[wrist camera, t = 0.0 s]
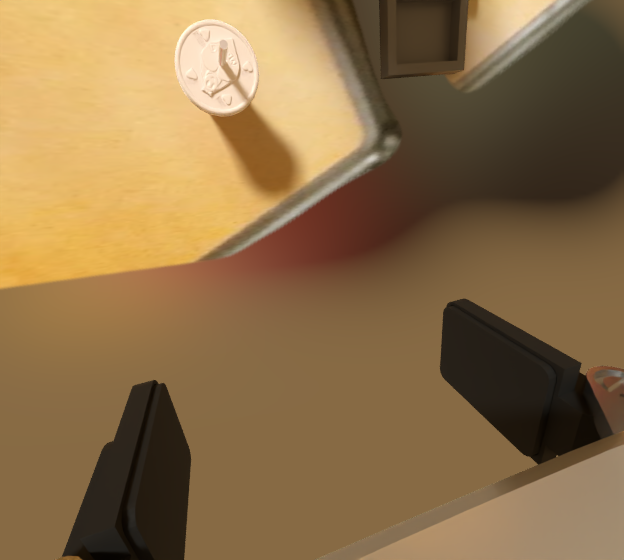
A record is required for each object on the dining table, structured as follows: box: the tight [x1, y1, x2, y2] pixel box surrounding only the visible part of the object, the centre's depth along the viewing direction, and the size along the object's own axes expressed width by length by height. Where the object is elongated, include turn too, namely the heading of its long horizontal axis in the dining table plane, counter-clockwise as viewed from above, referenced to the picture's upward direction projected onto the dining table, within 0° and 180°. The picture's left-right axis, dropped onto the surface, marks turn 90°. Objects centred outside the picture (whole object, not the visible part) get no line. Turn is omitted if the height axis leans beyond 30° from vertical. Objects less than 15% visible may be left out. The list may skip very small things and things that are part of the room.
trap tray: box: [379, 0, 468, 79], centre depth 36 cm, size 8×10×2 cm
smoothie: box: [175, 19, 259, 117], centre depth 27 cm, size 6×6×14 cm
